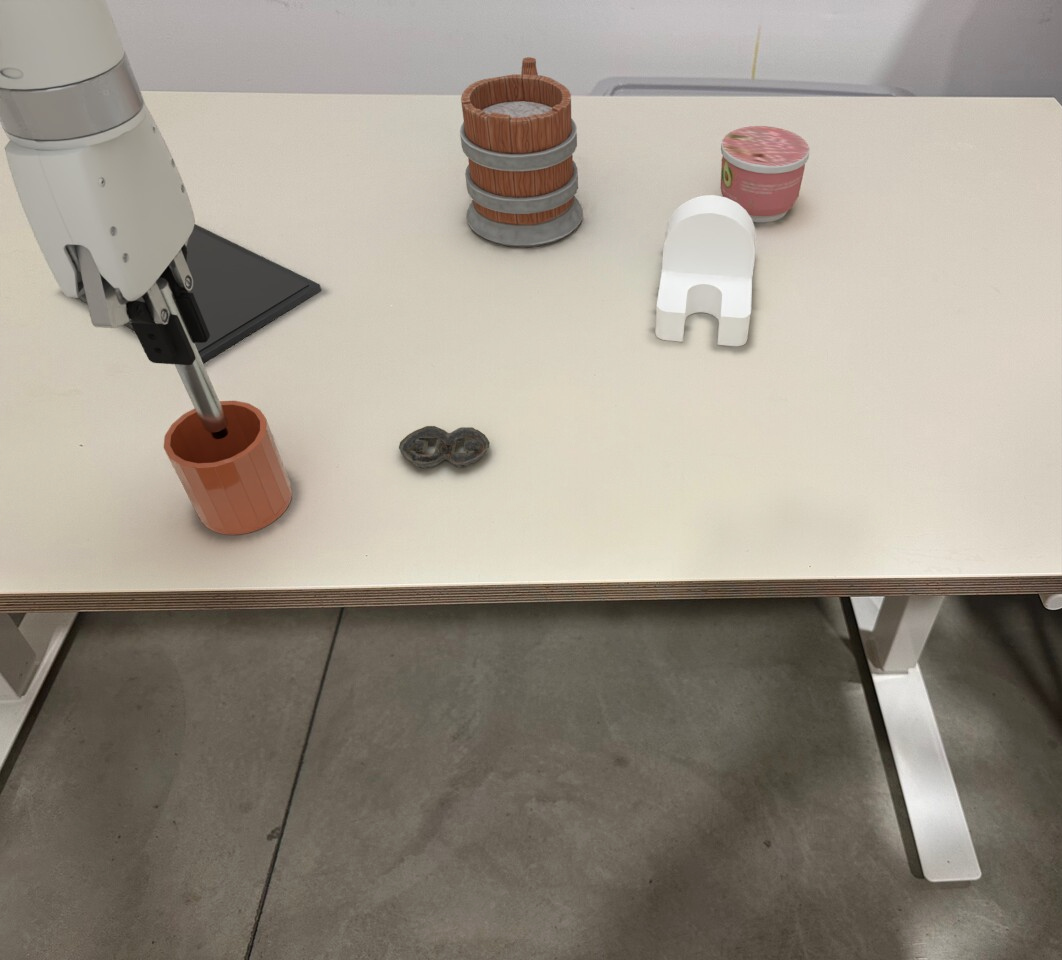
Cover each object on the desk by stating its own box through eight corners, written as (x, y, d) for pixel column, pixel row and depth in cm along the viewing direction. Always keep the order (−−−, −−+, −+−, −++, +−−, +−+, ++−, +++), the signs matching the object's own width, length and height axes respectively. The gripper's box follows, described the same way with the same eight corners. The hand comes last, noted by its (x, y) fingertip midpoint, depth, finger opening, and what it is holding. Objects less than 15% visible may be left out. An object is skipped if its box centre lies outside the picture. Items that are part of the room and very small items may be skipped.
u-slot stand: (654, 339, 93) (658, 248, 85) (668, 245, 105) (673, 158, 97) (746, 347, 92) (759, 256, 84) (750, 252, 104) (761, 165, 97)
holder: (239, 549, 72) (207, 482, 66) (178, 508, 75) (142, 440, 69) (311, 493, 77) (287, 425, 71) (251, 456, 79) (223, 388, 74)
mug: (457, 246, 104) (440, 120, 93) (483, 166, 117) (470, 47, 106) (578, 251, 103) (574, 125, 93) (590, 171, 117) (588, 52, 106)
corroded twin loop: (487, 472, 79) (486, 464, 78) (396, 472, 78) (394, 463, 78) (493, 433, 82) (492, 425, 81) (405, 432, 82) (403, 424, 81)
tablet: (197, 367, 88) (194, 359, 87) (64, 290, 96) (60, 283, 95) (321, 290, 97) (319, 283, 96) (190, 226, 105) (188, 220, 104)
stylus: (218, 445, 69) (150, 295, 59) (203, 436, 70) (133, 286, 60) (237, 432, 71) (173, 282, 60) (222, 423, 71) (156, 273, 61)
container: (725, 180, 116) (731, 120, 110) (805, 193, 114) (815, 132, 108) (707, 220, 109) (712, 158, 103) (792, 234, 107) (802, 172, 101)
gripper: (72, 38, 56) (176, 284, 70) (-83, 158, 46) (75, 422, 59) (188, 44, 56) (270, 289, 70) (60, 166, 45) (187, 429, 59)
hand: (180, 348), depth 64 cm, fingers closed on stylus, 1 cm apart
